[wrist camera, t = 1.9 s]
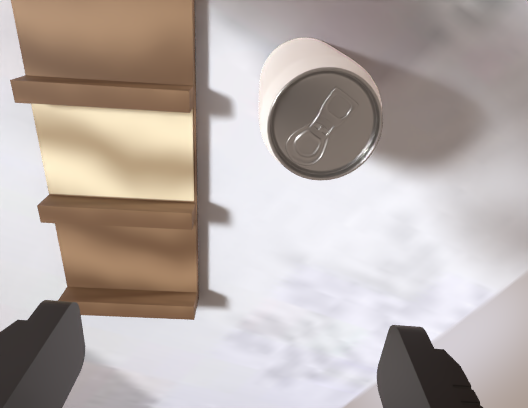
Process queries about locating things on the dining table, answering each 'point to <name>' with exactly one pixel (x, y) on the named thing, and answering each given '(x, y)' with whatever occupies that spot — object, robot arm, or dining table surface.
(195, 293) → the notch rack
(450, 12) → the dining table surface
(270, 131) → the can
